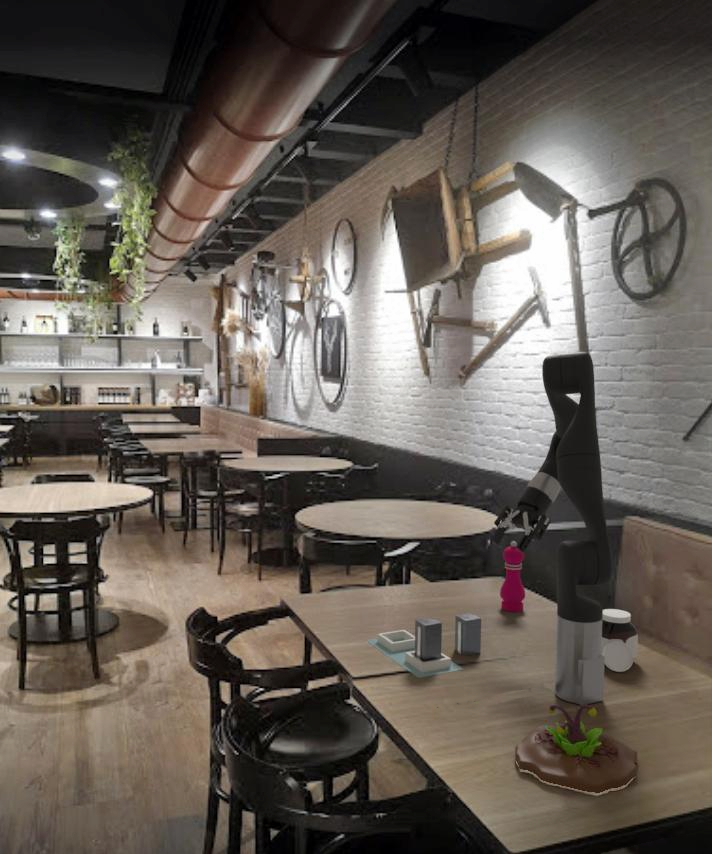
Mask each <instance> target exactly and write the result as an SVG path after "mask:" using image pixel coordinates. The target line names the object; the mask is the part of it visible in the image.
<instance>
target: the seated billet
mask: <svg viewBox="0 0 712 854" xmlns="http://www.w3.org/2000/svg"><path fill="white" fill-rule="evenodd" d="M414 621H415V623H414V624H415V625H414V630H415V631H414V632H415V633H414V636H415V657H417V658H418V659H420V660H421V661H423V662H426V661H432V660H438V659H441V653H442V642H443V641H442V638H443V637H442V634H443V633H442V632H443V630H442V629H443V625H442V624H443V622H441V621H439V620H437V619H435V618H434V617H424V618H419V619H415V620H414Z"/></svg>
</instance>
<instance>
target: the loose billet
mask: <svg viewBox="0 0 712 854" xmlns="http://www.w3.org/2000/svg"><path fill="white" fill-rule="evenodd" d="M454 619H455V626H454V627H455V628H454V629H455V631H454V633H455V634H454V651H456V652H457V653H458V654H460V655H463V656H464V657H466V656H472V655H478V654H481V648H482V647H481V646H482V644H481V643H482V618H481V617H480V616H478V615H475V614H473V613H471V612H470V613H463V614H457V615H455V618H454Z"/></svg>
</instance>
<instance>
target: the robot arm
mask: <svg viewBox="0 0 712 854" xmlns="http://www.w3.org/2000/svg"><path fill="white" fill-rule="evenodd" d="M541 366H542V369H541V371H542V372H541V373H542V383H543V387H544V388H543V389H544V391H545V394H546V398H547V399H548V402H549V405H550V407H551V410H552V413H553V417H554V425H555V431H554V433H553V435H552V437H551V441H550V444H549V449H548V452H547V454H546V457H545V459H544V461H543V463H542V465H541V466H540V467H539V469H538V470H537V473H536V474H534V476H533V477H532V478H531V480H530V481H529V483H528V484H527V486H526V487H525V489H524V490H523V492H522V493H521V495H520V496H519V497H518V500H517V506H516V507H515V508H511V507H510V506H509V505H506V506H505V507H504V508H503V509H502V511H501V512H500V513H499V515H498V516H497V518H496V519H495V520H494V523H493V524H494V525H495V527H497V528H496V530H495V532H494V533H493V536H492V538H491V542H493V544H494V545H499V544H500V543H501V541H502V539H503V538H504V536H505V535H506V533H507V532H509V531H510V530H512V531H513V530H515V529H522V530H524V532H525V535H524V534H523V535H522V537H521V539H520V540H519V542H518V543H517V546H516V548H517V549H518V550H519V551H520V552H523V553H524V552H525V551H526V550H527V548H528V547H529V545H530V544H531V542H533V541H535V540H537V541H541V540H542V538H543V536H544V535H545V533H546V532H547V529H548V527H549V525H550V523H551V520H550V519H549V517H548V516H547V515H546V514H548V512H549V509H550V508H551V507H552V505H553V503H554V502H555V500H556V499H557V498H558V495H559V493H560V491H561V489H562V490H563V492H564V493H565V495H566V497H568V499H569V501H570V502H571V503H572V505H573V506H574V507H575V508H576V510H577V511H578V513H579V514H580V516H581V518H582V521H583V523H584V525H585V528H586V531H587V536H588V540H564V541H560V543H559V545H558V546H557V550H556V556H555V562H556V563H555V569H556V607H557V608H556V612H557V613H556V616H557V617H556V641H555V642H556V643H555V644H556V645H555V646H556V647H555V672H554V673H555V678H554V679H555V680H554V681H555V682H554V693H555V695H556V696H557V697H558V698H559V699H561V700H564V701H566V702H569V703H573V704H578V705H579V706H582V705H584V704H585V705H589V704H593V703H598V702H602V701H604V690H605V688H604V687H605V657H604V656H602V655H601V644H602V617H603V610H604V609H603V606H602V604H601V603H600V602H598V601H597V600H595V599H593V598H589V597H587V596H584V595H582V594H580V593H578V588H577V586H604V585H607V584H609V583H610V582H611V580H612V577H613V570H614V569H613V566H614V565H613V556H612V555H613V553H612V548H611V542H610V536H609V532H608V526H607V520H606V513H605V512H606V511H605V506H604V504H605V503H604V494H603V493H604V492H603V478H602V477H603V476H602V474H603V473H602V465H601V464H602V463H601V462H602V460H601V454H600V453H601V452H600V445H599V438H598V436H599V435H598V430H597V419H596V396H595V395H596V393H595V392H596V391H595V369H594V364H593V358H592V356H591V354H590V353H589V352H587V351H579V352H578V351H577V352H568V353H566V352H565V353H557V354H552V355H551V354H550V355H548V356H546V357H545V358H543V361H542V365H541ZM575 394H579V395H580V397H579V402H577V401H575V400H574V399H573V398H571V397H570V396H568V395H575ZM511 521H512V522H511Z"/></svg>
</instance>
